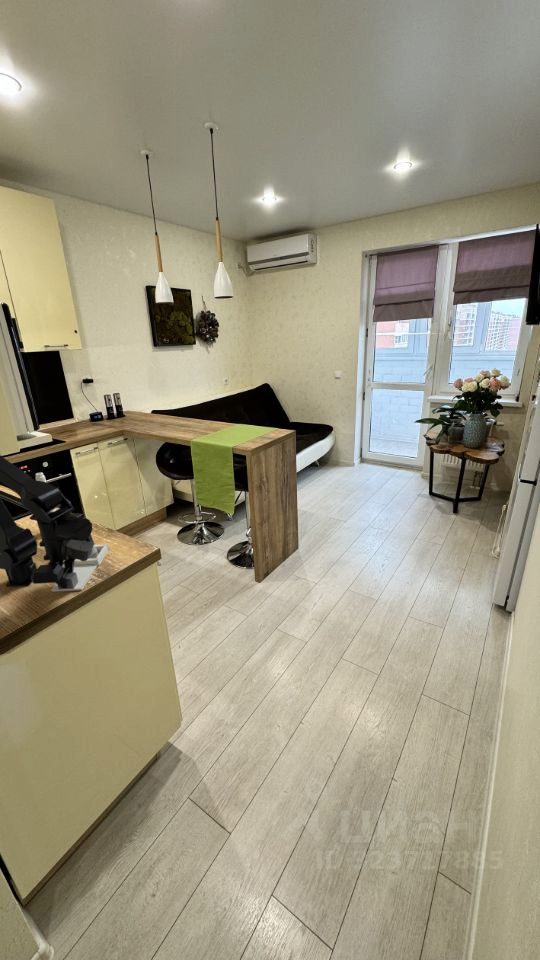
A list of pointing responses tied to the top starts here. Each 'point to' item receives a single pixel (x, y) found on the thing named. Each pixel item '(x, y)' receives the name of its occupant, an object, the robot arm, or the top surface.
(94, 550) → the rook chess piece
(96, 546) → the grey board with frame
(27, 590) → the top surface
